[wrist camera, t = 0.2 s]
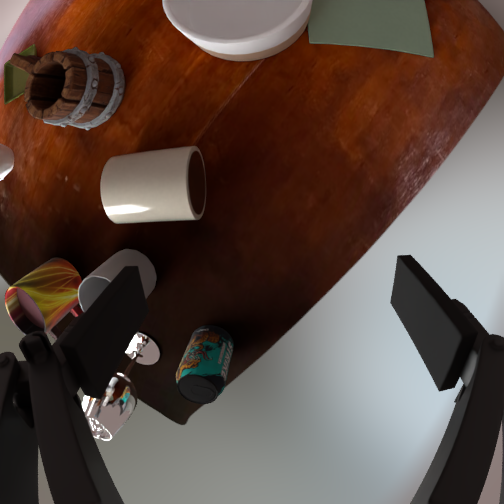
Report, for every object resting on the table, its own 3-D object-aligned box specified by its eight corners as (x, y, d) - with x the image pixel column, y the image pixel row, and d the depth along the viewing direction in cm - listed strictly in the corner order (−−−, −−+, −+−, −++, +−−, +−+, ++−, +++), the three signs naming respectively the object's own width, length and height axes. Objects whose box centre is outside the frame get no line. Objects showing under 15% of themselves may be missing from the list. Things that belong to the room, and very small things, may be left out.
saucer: (42, 44, 34) (34, 43, 32) (42, 87, 37) (34, 87, 35) (11, 64, 35) (4, 63, 33) (11, 105, 38) (4, 105, 36)
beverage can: (194, 318, 48) (173, 366, 37) (237, 327, 48) (225, 379, 37) (191, 350, 51) (171, 400, 40) (230, 359, 51) (219, 411, 40)
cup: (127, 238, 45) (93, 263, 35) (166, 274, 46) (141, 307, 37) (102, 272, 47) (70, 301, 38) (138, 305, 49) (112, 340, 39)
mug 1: (102, 148, 40) (23, 146, 25) (59, 103, 40) (-10, 94, 25) (147, 81, 36) (74, 52, 22) (96, 44, 36) (30, 18, 22)
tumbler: (136, 214, 43) (106, 232, 35) (129, 153, 40) (96, 159, 32) (209, 210, 42) (191, 229, 34) (204, 144, 39) (184, 146, 31)
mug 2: (96, 325, 51) (64, 363, 40) (42, 288, 50) (5, 318, 39) (107, 286, 48) (69, 323, 37) (48, 248, 47) (5, 275, 36)
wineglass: (114, 336, 52) (61, 411, 33) (145, 326, 50) (93, 408, 31) (137, 367, 54) (95, 445, 35) (168, 359, 52) (130, 445, 34)
